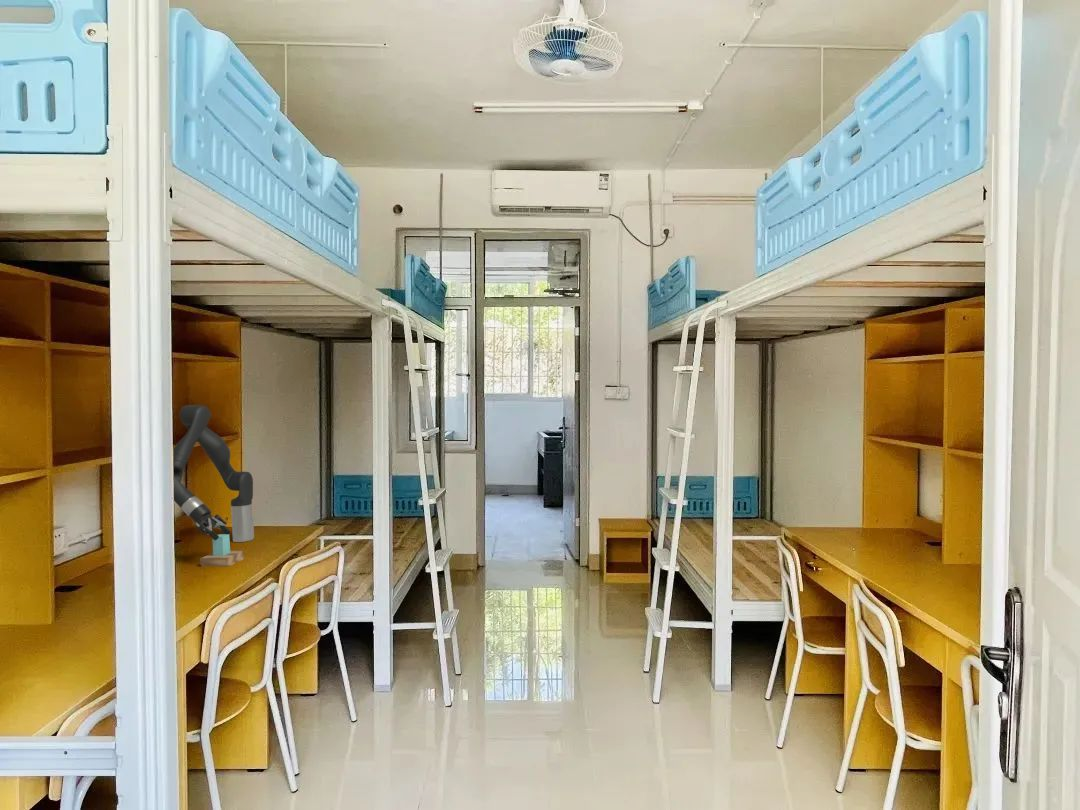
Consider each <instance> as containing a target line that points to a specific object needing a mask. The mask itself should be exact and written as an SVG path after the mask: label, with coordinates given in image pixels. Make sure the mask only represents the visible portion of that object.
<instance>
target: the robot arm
mask: <svg viewBox="0 0 1080 810" xmlns="http://www.w3.org/2000/svg"><path fill="white" fill-rule="evenodd" d="M178 415H179V419H180V422H181V423H182V424H183V426H184V427H185V428H186V429H187V432H186V433H185V434H184V436H183V437H182V438H181V439H180V440H179V441H178V442H177V443H176V445H175V446H174V447H173V449H174V500H173V501H174V502H175V503H176V504H177V506H179V507H180V509H181V510H182V511H183V512H184V513H185V514H186V515H187V517H189V518H190V519H191V520H192V521H193V522H194V523H195V524H194V526H195V528H196V529H198V530H197V531H199V532H200V533H201V535H203V536H204V535H207V536H209V537H210V538H212V540H213V539H214V540H217V539H218V538H219V536H218V535H219V534H217V533H216V532H215V531H214V530H213V528H214V529H218V530H220V531H221V532H222V534H229V535H231V533H232V542H234V543H244V542H249V541H252V540H255V539H254V538H255V530H254V529H255V527H254V518H253V503H252V502H253V499H254V498H253V497H254V480H253V479H254V478H253V476H252V474H251V472H249V471H236V470H235V469H234V468H233V466H232V465H231V463H230V460H231V450H230V448H229V446H228V444H227V443H226V442H225V440H224V439H223V438H222V437H221V436H219V435H218V434H217V433H215V432H214V431H213V430H211V429H210V428H209V427H207V425H208V423H209V422H210V420H211V419H210V418H211V411H210V409H209V408H208V407H207V406H205V405H202V404H201V405H200V404H198V405H197V404H188V405H184V406H182V407H181V408H180V410H179V414H178ZM197 442H198V444H199V445H200V446H201V448H202V449H203V451H204V452H205V454H206V455H207V456H208V458H209V460H210V461H211V462H212V464H213V465H214V467H215V468H216V470H217V471H218V473H219V476H221V478H222V481H223V483H224V484H225V486H226V487H227V488H228V490H230V491H234V492H235V491H236V492H238V496H236V497H234V498H232V499H231V501H230V512H231V513H230V514H231V531H230V530H229V529H228V528H227V526H226V525H227V524H228V523H227V521H225V520H224V519H223V518H222V516H220V515H219V514H218V513H217V514H215V515H214V516H213V515H212V510H211V509H210V508H209V507H208V506H207V505H206V504H205V503H204V502H203V501H202V500H201V499H200V498H198V496H196V495H194V493H193V492H192V491H191V490H189V489H188V488H187V487H186V486H185V485H184V484H183V483H182V479H183V475H184V471H185V468H186V465H187V463H188V460H189V458H190V455H191V453H192V452H193V449H194V447H195V445H196V443H197Z"/></svg>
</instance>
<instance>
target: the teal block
mask: <svg viewBox="0 0 1080 810" xmlns="http://www.w3.org/2000/svg"><path fill="white" fill-rule="evenodd" d="M217 535H218V536H219V538H218V539H217V540H214V539H212V553H213V556H224V555H227V554H229V553H230V551H231V545H230V544H231V543H230V541H231V540H230V534H224V533H222V534H221V533H219V534H217Z"/></svg>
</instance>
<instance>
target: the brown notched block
mask: <svg viewBox="0 0 1080 810" xmlns="http://www.w3.org/2000/svg"><path fill="white" fill-rule="evenodd" d="M244 553H245V552H244V550H230V553H229V554H227V555H224V556H213V552H212V553H209V554H206V555H205V556H203V557H200V559H199V561H200V562H199V565H201V566H218V568H223V567H224V568H225V567H230V566H232V565H234V564H237V563H238V562H240V561H242V560H244V559H245V557H244V555H245V554H244ZM201 566H200V567H201Z"/></svg>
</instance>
